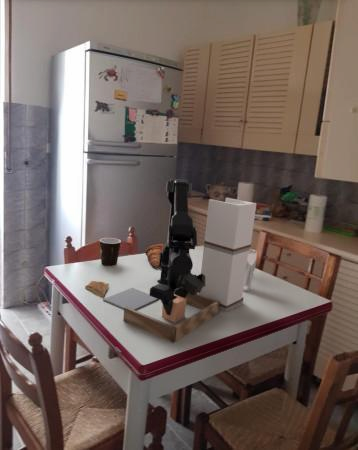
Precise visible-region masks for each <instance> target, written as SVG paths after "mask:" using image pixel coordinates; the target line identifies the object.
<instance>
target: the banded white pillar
mask: <svg viewBox="0 0 358 450" xmlns="http://www.w3.org/2000/svg"><path fill="white" fill-rule="evenodd" d="M224 200H225V201H221V200H216V199H212V198H211V199H208V206H207V214H206V225H205V232H204V233H205V234H204V241H203V243H204V244H203V251H202V260H201V269H200V271H201V272H200V274H203V275H205V286H204V287H202V289H201V291H200V293H198V294H200V295H202V296H205V297H208V298H211V299H214V300H217V301H220V307H219V311H222V310H223V312H225V313H226V311H227V312H229V311H231V310H233V309H234V307H235V308H236V306H237V307H239V306H240V305H242V304H244V297H243V292H244V291H243V286H244V279H245V272H246V264H247V257H248V254H250V249H251V247H252V238H253V233H254V225H255V224H254V223H255V217H256V210H257V203H256V202H251V201H245V200H240V199H236V198H231V197H225V199H224ZM232 308H233V309H232ZM230 309H231V310H230ZM228 310H229V311H228Z"/></svg>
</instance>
